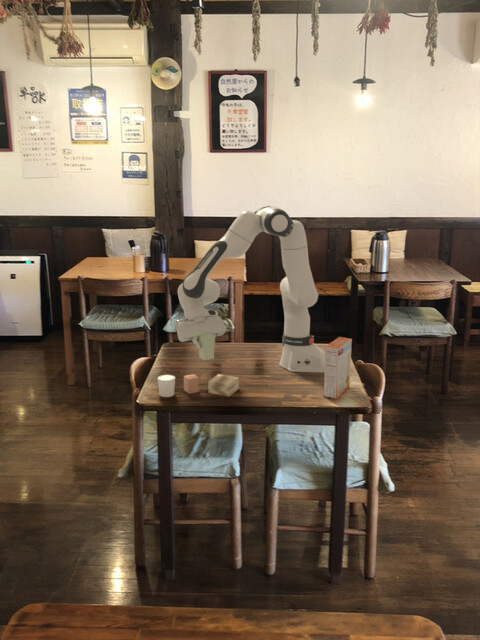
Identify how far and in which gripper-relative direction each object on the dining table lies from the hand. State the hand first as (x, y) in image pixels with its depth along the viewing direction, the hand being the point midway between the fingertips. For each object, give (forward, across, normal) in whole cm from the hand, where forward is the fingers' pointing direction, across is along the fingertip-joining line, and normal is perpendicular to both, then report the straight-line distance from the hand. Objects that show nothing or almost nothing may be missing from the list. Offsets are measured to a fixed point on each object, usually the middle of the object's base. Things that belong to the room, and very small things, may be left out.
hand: (207, 346), depth 249 cm
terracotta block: (+15, -10, +6) cm, 19 cm away
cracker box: (+35, +40, -12) cm, 55 cm away
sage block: (+3, 0, +4) cm, 5 cm away
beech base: (+19, +1, +2) cm, 19 cm away
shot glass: (+14, -20, +6) cm, 26 cm away
